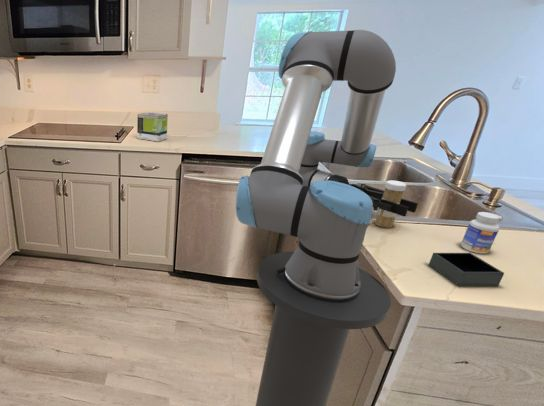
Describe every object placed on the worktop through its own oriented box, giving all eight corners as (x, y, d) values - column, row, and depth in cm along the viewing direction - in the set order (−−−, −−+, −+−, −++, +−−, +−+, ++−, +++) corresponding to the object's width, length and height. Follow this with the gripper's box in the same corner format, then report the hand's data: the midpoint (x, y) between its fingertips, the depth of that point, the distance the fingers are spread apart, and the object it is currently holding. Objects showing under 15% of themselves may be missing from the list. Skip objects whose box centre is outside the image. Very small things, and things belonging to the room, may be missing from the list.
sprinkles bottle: (387, 229, 106) (401, 186, 100) (370, 223, 109) (383, 181, 104) (396, 225, 107) (410, 183, 102) (379, 220, 111) (392, 178, 106)
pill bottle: (474, 254, 92) (489, 220, 88) (454, 243, 97) (468, 210, 93) (495, 253, 92) (511, 219, 88) (474, 243, 97) (488, 210, 93)
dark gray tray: (457, 286, 81) (463, 272, 79) (428, 265, 89) (433, 252, 87) (498, 286, 80) (504, 273, 79) (464, 265, 88) (470, 252, 87)
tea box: (167, 138, 215) (168, 113, 209) (157, 142, 208) (158, 116, 202) (146, 135, 224) (147, 111, 218) (136, 138, 217) (136, 113, 211)
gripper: (343, 190, 125) (423, 215, 106) (310, 200, 118) (390, 229, 99) (348, 169, 122) (431, 191, 103) (315, 178, 115) (398, 203, 96)
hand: (411, 209), depth 101 cm, fingers closed on sprinkles bottle, 4 cm apart
